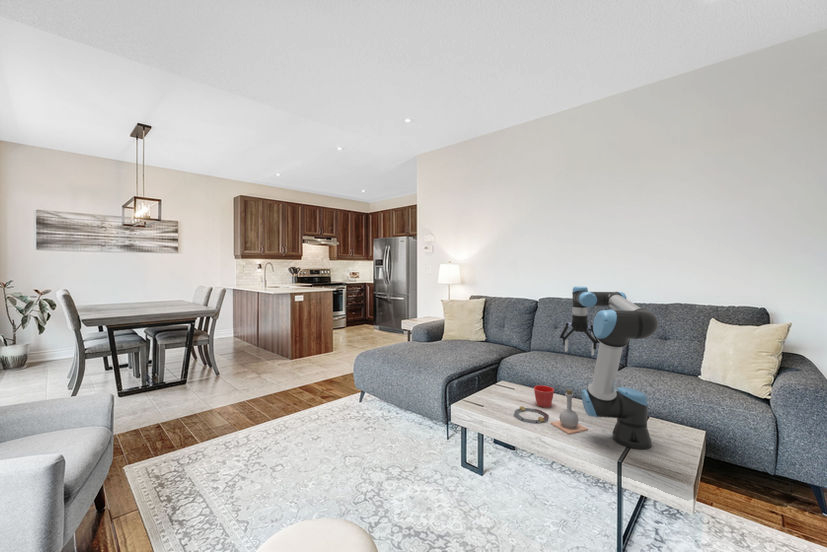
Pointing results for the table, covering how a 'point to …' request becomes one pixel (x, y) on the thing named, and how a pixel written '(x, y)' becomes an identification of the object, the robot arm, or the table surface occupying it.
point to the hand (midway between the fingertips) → (579, 353)
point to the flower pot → (543, 395)
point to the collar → (540, 419)
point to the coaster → (567, 430)
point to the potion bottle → (569, 413)
